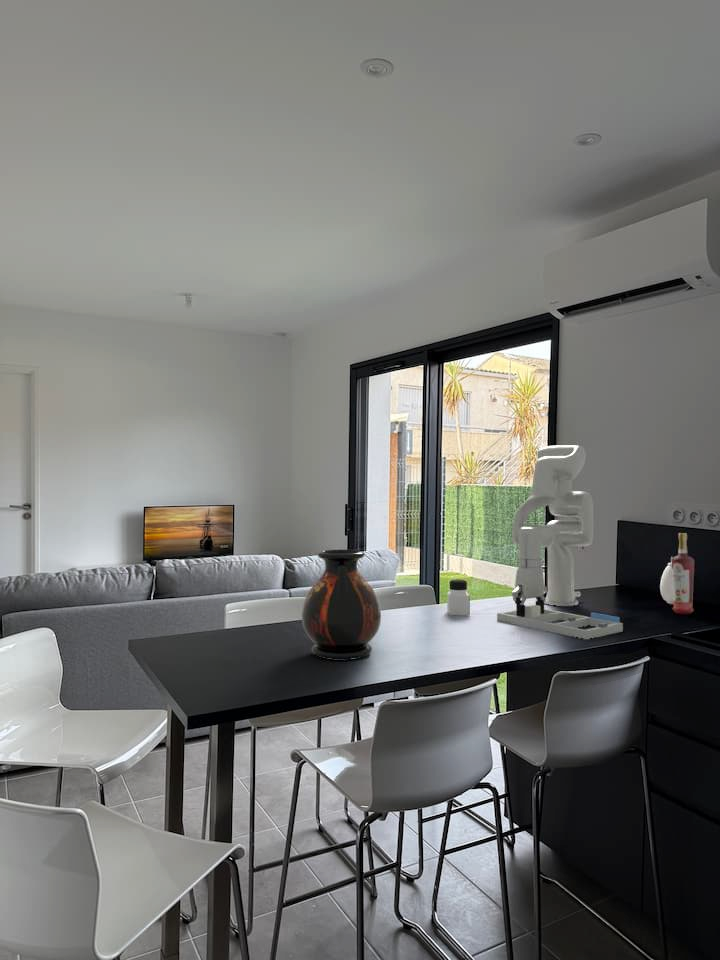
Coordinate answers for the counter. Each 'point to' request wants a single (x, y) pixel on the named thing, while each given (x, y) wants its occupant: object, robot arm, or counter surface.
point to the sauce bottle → (667, 584)
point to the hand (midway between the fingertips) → (530, 614)
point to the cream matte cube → (532, 610)
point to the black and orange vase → (341, 608)
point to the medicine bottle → (458, 598)
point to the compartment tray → (566, 623)
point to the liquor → (683, 578)
